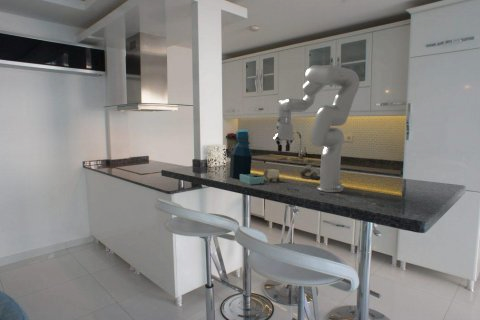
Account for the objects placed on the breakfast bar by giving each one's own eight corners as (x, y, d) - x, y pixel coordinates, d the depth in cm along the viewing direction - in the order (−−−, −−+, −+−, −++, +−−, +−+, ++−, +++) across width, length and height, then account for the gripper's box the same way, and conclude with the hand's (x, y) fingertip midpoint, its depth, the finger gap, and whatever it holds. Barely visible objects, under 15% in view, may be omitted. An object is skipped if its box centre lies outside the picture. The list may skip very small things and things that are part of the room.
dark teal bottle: (251, 179, 184) (252, 129, 181) (228, 179, 185) (228, 129, 182) (250, 174, 205) (251, 129, 202) (230, 173, 206) (230, 129, 202)
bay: (263, 183, 171) (263, 176, 171) (249, 184, 167) (249, 177, 167) (253, 180, 182) (253, 173, 182) (239, 181, 178) (239, 174, 178)
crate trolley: (279, 181, 179) (279, 170, 178) (269, 182, 176) (269, 171, 175) (272, 179, 186) (272, 169, 185) (262, 180, 183) (263, 169, 182)
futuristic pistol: (317, 188, 184) (325, 174, 181) (298, 175, 191) (305, 161, 188) (319, 187, 186) (326, 174, 182) (299, 175, 193) (306, 161, 190)
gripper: (276, 120, 174) (275, 152, 176) (299, 121, 181) (299, 151, 183) (269, 120, 181) (268, 151, 182) (292, 121, 188) (291, 150, 190)
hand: (283, 151), depth 183 cm, fingers open, 4 cm apart
